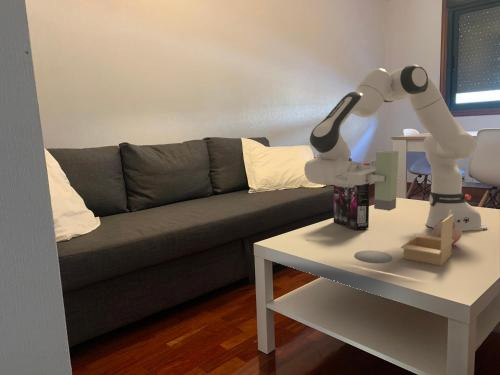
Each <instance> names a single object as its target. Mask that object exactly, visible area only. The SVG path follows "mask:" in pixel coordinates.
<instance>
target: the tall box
mask: <svg viewBox="0 0 500 375" xmlns="http://www.w3.org/2000/svg"><path fill="white" fill-rule="evenodd" d="M398 163H399V151H397V150H396V151H394V150H380V151H379V150H378V151H375V166H376V171H375V175H385V176H386V180H385V181H383V182H381V181H375V182H374V200H373V201H374V202H373V203H374V204H373V210H374V209H375V210H382V211H388V212H389V211H392V210H394V209H396V207H397V188H398V187H397V185H398V170H399V169H398V168H399V167H398V166H399V164H398Z"/></svg>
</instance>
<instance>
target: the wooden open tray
mask: <svg viewBox="0 0 500 375" xmlns="http://www.w3.org/2000/svg"><path fill="white" fill-rule="evenodd" d="M452 231H453V214H452V215H450V216H449V217H448V218H446V219H445V220H443V221H442V229H441V238H440V237H435V235H434V236H433V235H426V234H417V235H416V236H415V237H413V238H412V239H410V240H409V241H407V242H406V243H404V244H403V245H402V246H400V249H402V250H403V259H405V260H412V261H417V262H421V263H427V264H433V265H437V266H442V265H444V264H445V263H446V261H448V259H449V258H450V257H451V256H452V247H453V244H452V243H453V242H454V239H452Z"/></svg>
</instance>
